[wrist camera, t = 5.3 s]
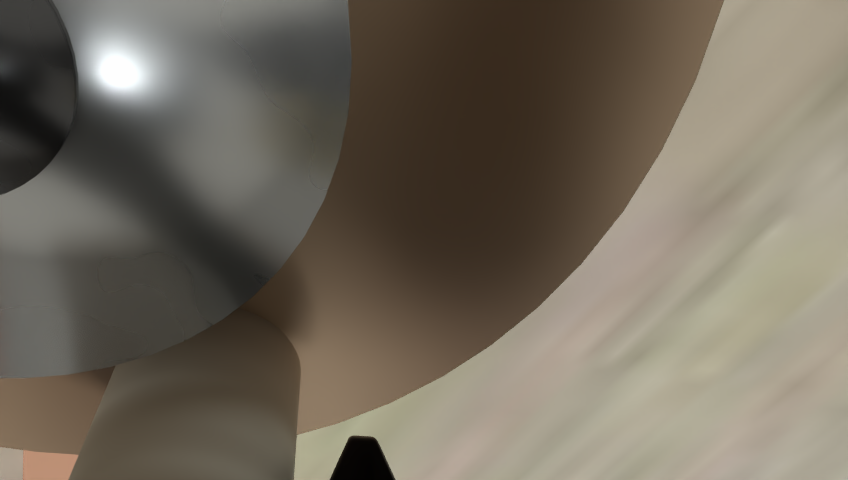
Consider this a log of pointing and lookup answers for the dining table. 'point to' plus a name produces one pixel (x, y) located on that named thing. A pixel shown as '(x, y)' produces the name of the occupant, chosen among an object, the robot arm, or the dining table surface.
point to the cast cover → (156, 166)
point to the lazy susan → (401, 233)
